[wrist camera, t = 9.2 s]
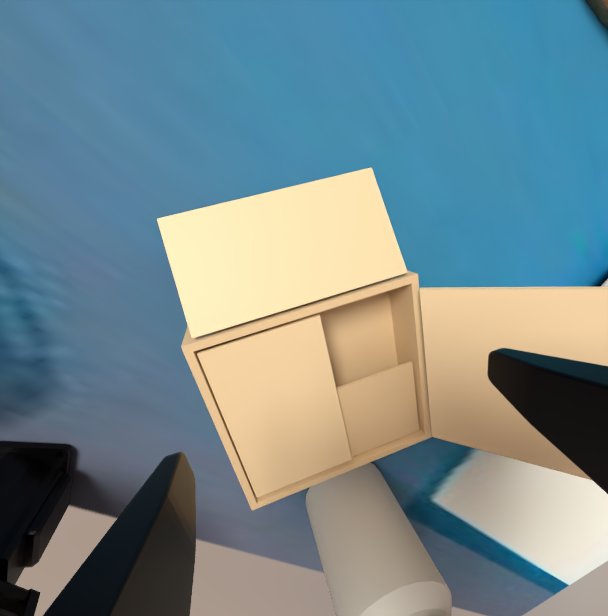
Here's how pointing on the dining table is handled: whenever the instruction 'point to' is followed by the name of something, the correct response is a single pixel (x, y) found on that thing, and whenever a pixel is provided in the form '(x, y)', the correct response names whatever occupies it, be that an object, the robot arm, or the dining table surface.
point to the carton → (301, 331)
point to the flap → (494, 335)
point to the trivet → (600, 10)
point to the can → (372, 549)
